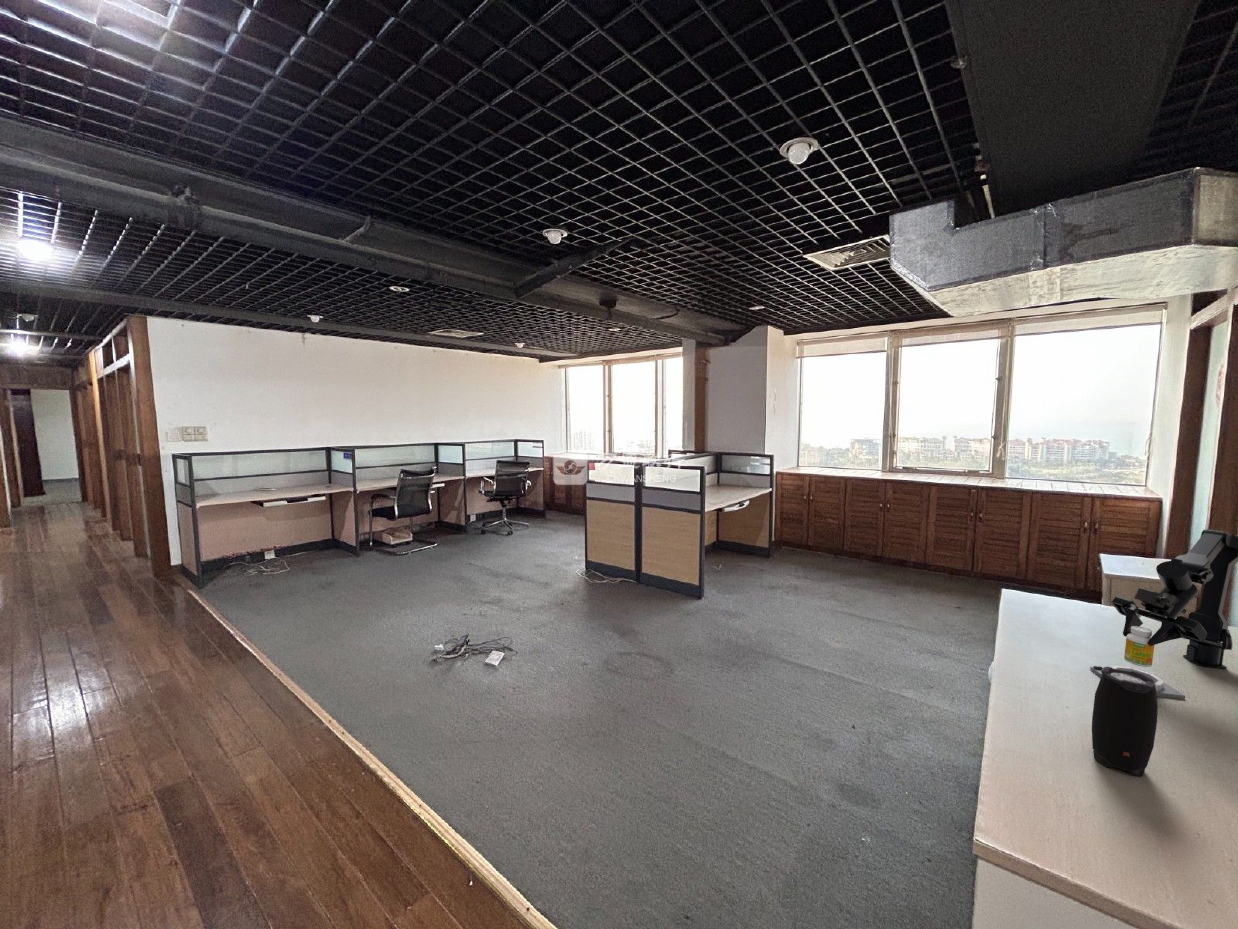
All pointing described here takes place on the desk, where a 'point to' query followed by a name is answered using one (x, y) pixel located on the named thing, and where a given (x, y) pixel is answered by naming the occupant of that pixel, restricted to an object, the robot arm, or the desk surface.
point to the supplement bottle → (1139, 647)
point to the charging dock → (1161, 687)
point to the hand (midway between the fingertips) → (1136, 640)
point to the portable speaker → (1124, 720)
